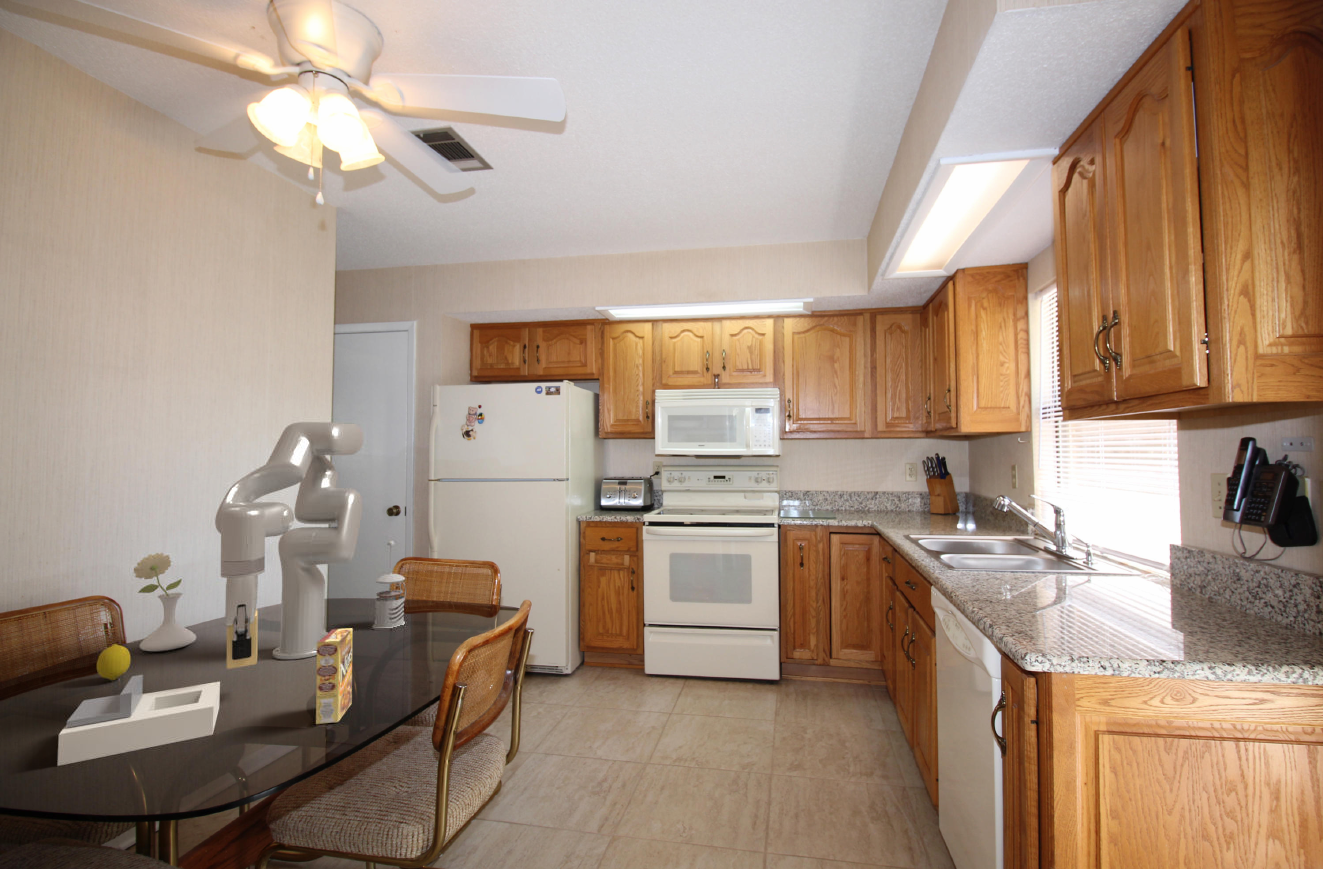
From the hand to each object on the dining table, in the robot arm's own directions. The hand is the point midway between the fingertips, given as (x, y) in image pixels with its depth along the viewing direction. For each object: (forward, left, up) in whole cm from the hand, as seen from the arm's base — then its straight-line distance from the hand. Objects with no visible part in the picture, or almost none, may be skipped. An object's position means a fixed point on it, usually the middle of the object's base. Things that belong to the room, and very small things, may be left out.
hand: (242, 652), depth 124 cm
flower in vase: (+18, -48, -9) cm, 52 cm away
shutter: (+19, +11, -4) cm, 22 cm away
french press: (-35, -40, -9) cm, 54 cm away
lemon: (+24, -26, -9) cm, 37 cm away
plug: (0, 0, -2) cm, 2 cm away
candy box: (-16, +20, -9) cm, 27 cm away
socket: (+13, +11, -9) cm, 20 cm away
